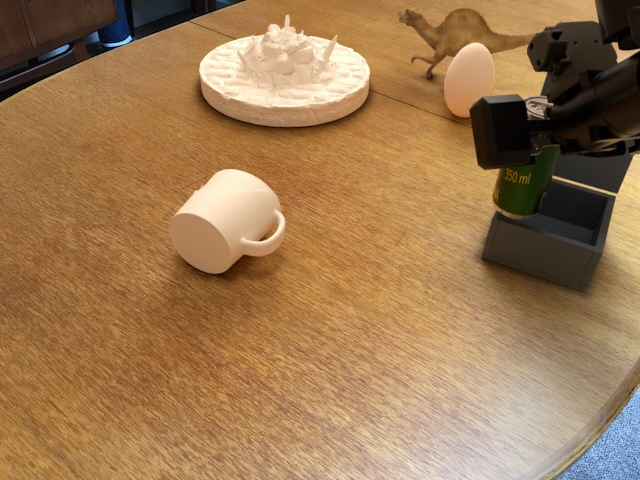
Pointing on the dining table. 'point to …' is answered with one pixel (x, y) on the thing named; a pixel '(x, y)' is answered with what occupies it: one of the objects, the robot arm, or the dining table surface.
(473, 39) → the dinosaur figurine
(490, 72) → the egg
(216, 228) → the mug
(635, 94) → the robot arm
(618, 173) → the lid
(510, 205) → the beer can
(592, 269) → the grey open square box
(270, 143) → the dining table surface
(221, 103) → the cake
